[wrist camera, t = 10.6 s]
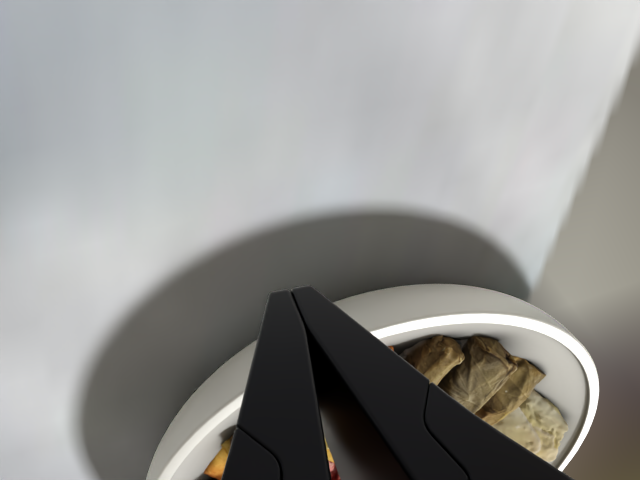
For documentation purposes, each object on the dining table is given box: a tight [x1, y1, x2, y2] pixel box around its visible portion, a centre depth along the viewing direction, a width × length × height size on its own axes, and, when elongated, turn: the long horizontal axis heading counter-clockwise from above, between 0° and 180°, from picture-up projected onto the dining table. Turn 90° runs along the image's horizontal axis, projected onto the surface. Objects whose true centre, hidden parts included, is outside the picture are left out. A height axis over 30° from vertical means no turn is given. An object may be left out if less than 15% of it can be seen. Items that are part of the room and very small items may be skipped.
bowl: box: [146, 284, 599, 480], centre depth 31 cm, size 30×30×8 cm
